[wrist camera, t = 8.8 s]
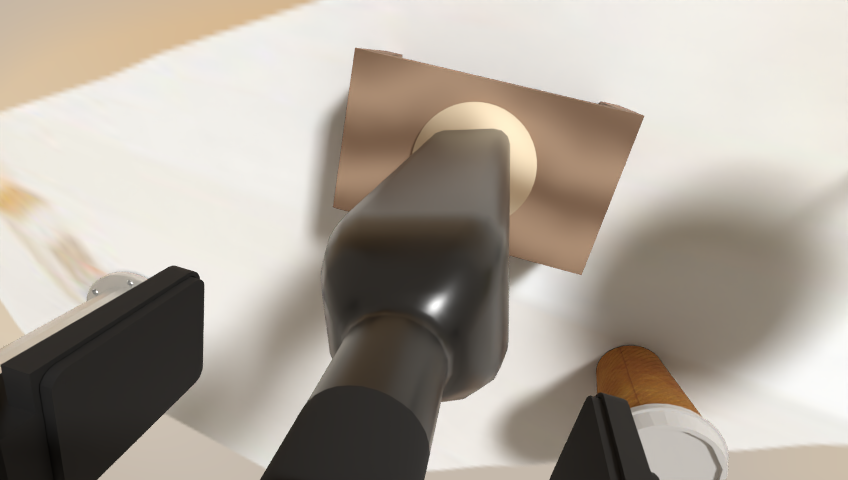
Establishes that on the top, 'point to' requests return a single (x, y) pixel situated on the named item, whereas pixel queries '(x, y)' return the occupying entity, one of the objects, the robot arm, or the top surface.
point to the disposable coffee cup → (663, 416)
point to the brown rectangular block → (528, 135)
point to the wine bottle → (408, 312)
